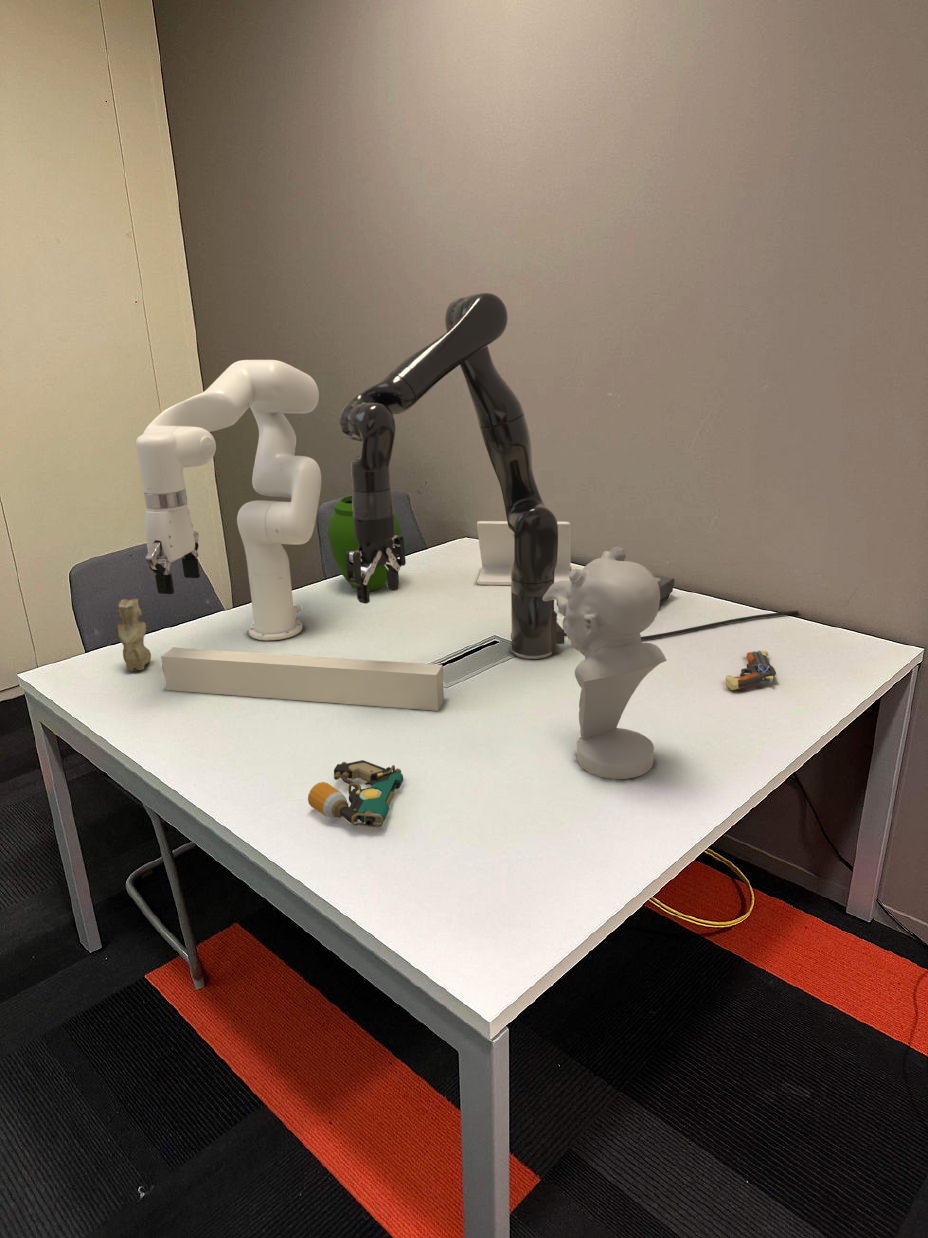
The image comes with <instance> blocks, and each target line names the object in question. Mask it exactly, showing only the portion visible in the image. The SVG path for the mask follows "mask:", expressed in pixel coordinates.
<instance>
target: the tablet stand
mask: <svg viewBox="0 0 928 1238" xmlns="http://www.w3.org/2000/svg"><path fill="white" fill-rule="evenodd" d="M557 524H558V554H557V565H556V568H555V572H554V583H555V582H557V581H563V580H568V581H570V578H569V573H570V571H571V565H572V564H571V560H572V558H571V522H569V521H557ZM476 531H477V537H478V544H479V551H480V557H481V558H480V559H481V570H480V573H479V575H478V577H477V580H476V581H477V582H476V584H478V585H484V586H485V585H486V586H487V585H489V586H490V585H491V586H511V566H512V564H513V563H514V537H513V535H512V534H511V532H510V530H509V527H508V523H507V520H505V521H504V520H477V522H476Z"/></svg>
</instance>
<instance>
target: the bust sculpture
mask: <svg viewBox="0 0 928 1238" xmlns="http://www.w3.org/2000/svg"><path fill="white" fill-rule="evenodd" d="M594 559H595V558H594ZM594 559H593V560H592V562H591V561H590V562H588V563H587V564H586V565H585V566H584V567H583V568H582V569H581V568H580V569H578V568H573V569H570V573H569V578H570V581H568V580H563V581H557V582H555V583H554V584H552V585H551V586H550V588H549V589H548V591H547V592H546V594H545V595H544V596H543V601H550V600H554V601H555V600H556V602H557V601H558V606H557V609H558V611H559V612H560V614H561V615H562V616H564V618H563V619H562V622H561V623H562V625H561V627H562V629H563V630H564V631H565V633H566V635H567V636H566V638H567V639H568V641H570V643H571V645H572V646H573V647H574V648H575V649H576V650H577V651H578V652H579V653H580V654H581V655H582V656H584V659H582V661H580V662H579V663H578V664H577V665H576V667H575V669H574V677H575V679H576V682H577V684H578V686H579V687H580V689H581V690H580V694H579V701H578V709H579V710H578V723H579V728H580V729H579V733H580V737H579V738H578V740H577V742H576V761H577V763H578V765H579V766H580V767H581V769H583V770H585V771H586V772H587V773H589V774H592V775H595V776H598V777H601V778H606V779H613V780H624V779H625V780H626V779H632V778H633V779H634V778H637V777H640V776H642V775H644V774H646V773H648V772H649V771H650V770H651V769H652V768H653V766H654V757H655V745H654V743H653V742H652V740H650V738H649V737H647V736H646V735H644V734H642V733H641V732H638V731H635V730H631V729H628V728H622V727H618V725H619V722H620V720H621V717H622V715H623V713H624V711H625V710H626V707H627V705H628V703H629V702H630V699H631V698H632V696H633V695H634V693H635V691H636V690H637V688H638V687H639V685H640V684H641V683H642V681H643V680H644V679H645V677H647V675H648V674H649V673H651V672H652V671H653V670H654V669H655V668H657V667H658V666H660V665H661V664H662V663H664V662H667V658H666V656H665V654H664V652H663V651H662V649H661V648H660V647H659V645H657V644H654V643H651V642H643V640H641V637H642V636H641V633H643V632H644V631H646V630H647V629H648V628H649V627H650V626H652V624H653V623H654V621H655V619H656V617H657V615H658V613H659V608H660V605H661V604H660V589H659V585H658V583H657V581H656V579H655V577H656V576H654V575H653V573H652V572H651V571H650V570H649V569H648V568H647V567H645V566H644V565H642V564H641V563H637V562H634V561H627V560H624V561H617V560H615V557H614V555H613V553H612V552H610V550H604V551H603V552H602V555H601V557H599V558H597V557H596V559H595V560H594ZM659 604H660V605H659Z"/></svg>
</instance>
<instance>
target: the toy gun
mask: <svg viewBox="0 0 928 1238" xmlns="http://www.w3.org/2000/svg"><path fill="white" fill-rule="evenodd" d="M769 654H770V653H769V652H768V651H767V650H757V651H755V650H753V651H751V652H750V651H748V652H747V653H746V660H747V662H748V663H747V664H746V667H744V668H741V670H740V671H741V672H740V674H739V676H731V675H725V683H726V686H727V688H728V689H729V690H730V691H735V690H736V691H737V690H739V689H742V688H747V687H750V686H753V685H756V684H760V683H763V682H764V681H767V680H771V681H773V680H774V678H775V676H778V674H777V671H776V669H775V667H774V666H773V665H771V663H770V660H769V659H768V657H769V656H770V655H769Z"/></svg>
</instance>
